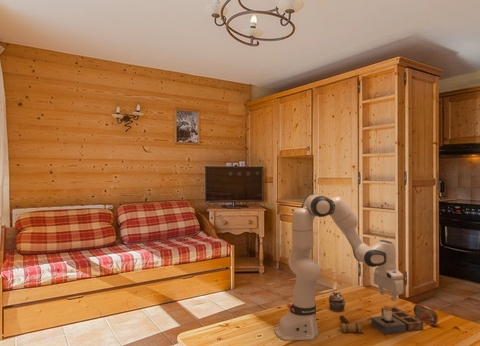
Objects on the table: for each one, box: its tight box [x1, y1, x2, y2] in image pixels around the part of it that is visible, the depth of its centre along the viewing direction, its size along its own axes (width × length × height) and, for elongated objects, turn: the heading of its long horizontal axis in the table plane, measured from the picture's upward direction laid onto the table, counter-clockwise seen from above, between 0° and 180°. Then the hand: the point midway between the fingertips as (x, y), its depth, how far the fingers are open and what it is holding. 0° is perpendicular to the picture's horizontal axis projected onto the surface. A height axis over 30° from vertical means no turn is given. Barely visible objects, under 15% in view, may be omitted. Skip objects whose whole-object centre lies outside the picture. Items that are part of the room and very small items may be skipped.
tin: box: [413, 303, 439, 326], centre depth 188 cm, size 15×3×8 cm, turn 13°
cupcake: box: [328, 291, 346, 313], centre depth 207 cm, size 10×10×10 cm
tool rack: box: [381, 306, 424, 333], centre depth 188 cm, size 9×22×4 cm, turn 13°
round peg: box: [383, 305, 393, 323], centre depth 181 cm, size 4×4×11 cm
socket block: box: [370, 315, 407, 335], centre depth 181 cm, size 12×12×4 cm
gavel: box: [339, 314, 363, 334], centre depth 186 cm, size 21×5×10 cm
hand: (388, 297), depth 181 cm, fingers open, 8 cm apart
